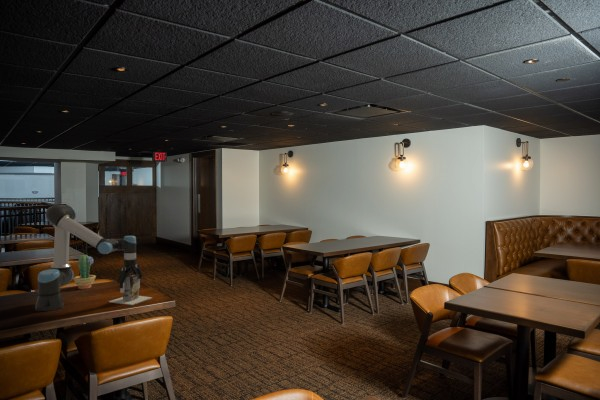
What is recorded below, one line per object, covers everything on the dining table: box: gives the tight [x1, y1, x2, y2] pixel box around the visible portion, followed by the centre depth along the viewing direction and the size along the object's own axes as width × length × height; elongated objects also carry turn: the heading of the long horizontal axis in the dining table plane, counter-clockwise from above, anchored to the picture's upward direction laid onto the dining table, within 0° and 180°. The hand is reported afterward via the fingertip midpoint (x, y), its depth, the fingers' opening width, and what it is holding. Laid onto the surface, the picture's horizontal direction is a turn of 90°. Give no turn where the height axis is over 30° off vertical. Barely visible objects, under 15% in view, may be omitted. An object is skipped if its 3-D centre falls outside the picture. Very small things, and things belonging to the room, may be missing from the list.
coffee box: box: [122, 273, 140, 301], centre depth 269 cm, size 9×6×16 cm
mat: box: [108, 295, 153, 306], centre depth 269 cm, size 20×18×1 cm
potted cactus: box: [72, 254, 97, 290], centre depth 307 cm, size 15×15×25 cm
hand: (130, 290), depth 269 cm, fingers open, 13 cm apart
